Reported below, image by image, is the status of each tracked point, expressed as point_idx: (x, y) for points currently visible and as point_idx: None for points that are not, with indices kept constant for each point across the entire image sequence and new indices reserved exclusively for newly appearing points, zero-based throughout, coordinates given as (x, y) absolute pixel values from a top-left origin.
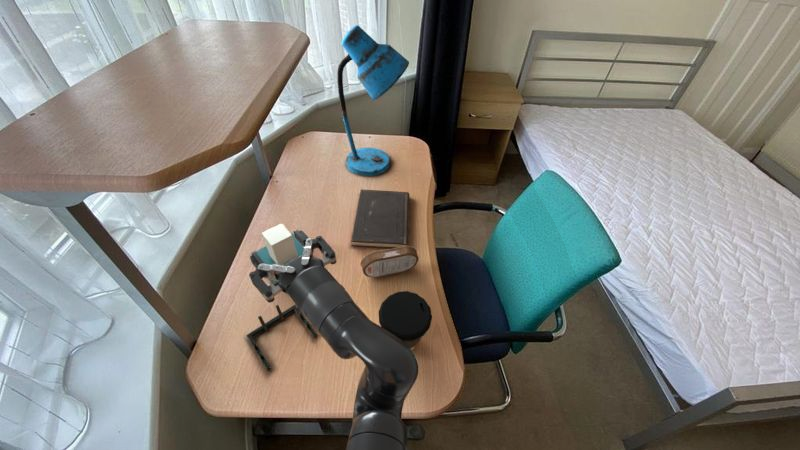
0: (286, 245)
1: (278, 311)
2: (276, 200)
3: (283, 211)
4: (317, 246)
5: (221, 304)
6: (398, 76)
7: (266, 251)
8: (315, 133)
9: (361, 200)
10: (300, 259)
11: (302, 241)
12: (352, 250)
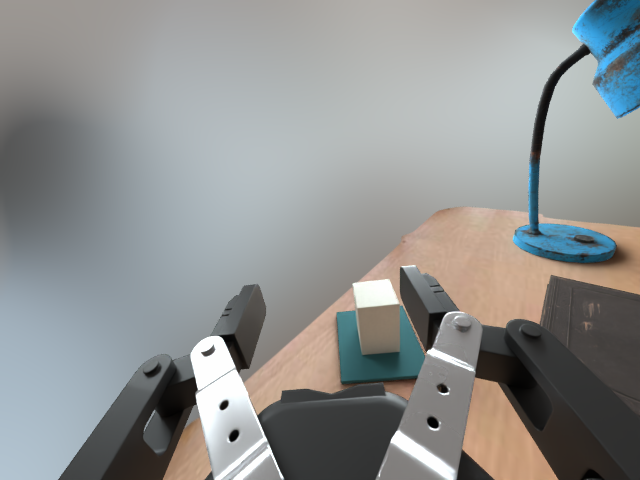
0: (384, 319)
1: None
2: (395, 259)
3: None
4: (502, 376)
5: (261, 369)
6: None
7: (355, 317)
8: (465, 207)
9: (555, 293)
10: (381, 427)
11: (424, 315)
12: None
